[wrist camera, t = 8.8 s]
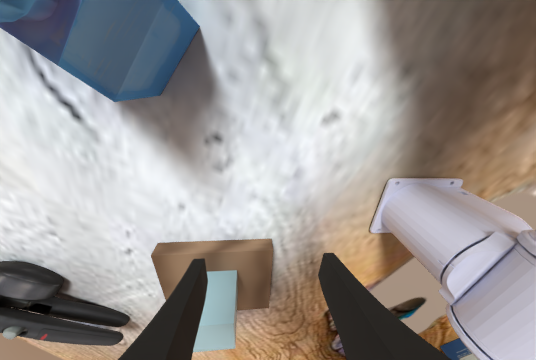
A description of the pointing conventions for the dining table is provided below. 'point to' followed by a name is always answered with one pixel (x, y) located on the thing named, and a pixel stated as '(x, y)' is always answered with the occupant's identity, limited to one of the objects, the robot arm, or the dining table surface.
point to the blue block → (218, 313)
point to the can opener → (50, 309)
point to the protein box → (457, 351)
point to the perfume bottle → (106, 40)
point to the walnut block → (220, 266)
